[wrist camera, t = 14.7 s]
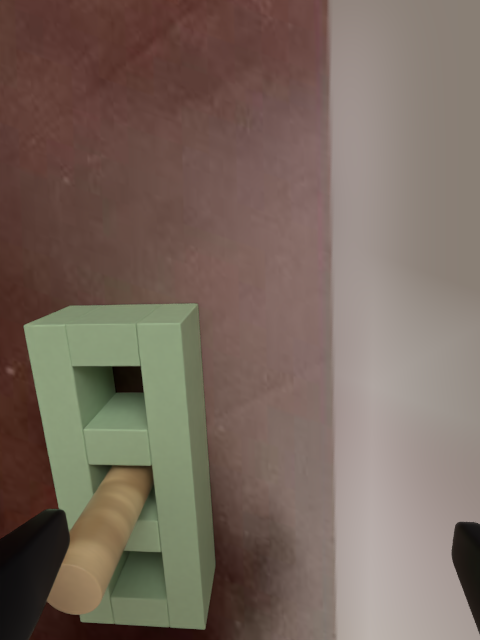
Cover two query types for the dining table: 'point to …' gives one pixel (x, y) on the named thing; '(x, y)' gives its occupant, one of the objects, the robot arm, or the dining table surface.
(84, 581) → the peg
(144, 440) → the peg board
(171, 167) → the dining table surface
